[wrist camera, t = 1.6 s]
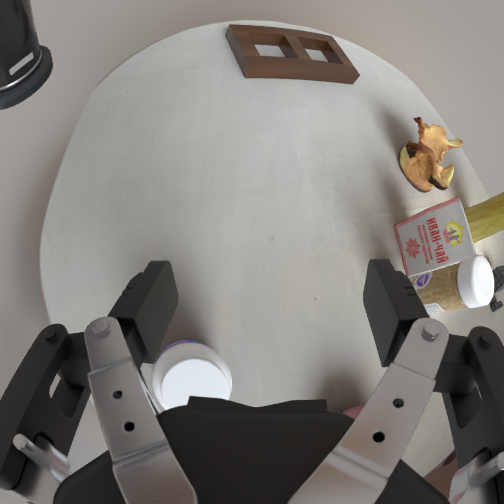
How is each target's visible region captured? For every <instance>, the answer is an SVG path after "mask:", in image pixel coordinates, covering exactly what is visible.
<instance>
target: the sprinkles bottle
mask: <svg viewBox="0 0 504 504" xmlns="http://www.w3.org/2000/svg"><path fill="white" fill-rule="evenodd" d="M408 278H409V279H410V281H411V283H412V285H413V286H414V288H415V290H416V292H417V295H418V296H419V297H420V299H421V301H422V303H423V305H424V307H425V309H426V311H427V313H428V314H432V313H439V312H445V311H450V310H454V309H459V308H465V307H467V308H476V307H481V306H485V305H487V304H488V303H489V302H490V301H491V299H492V297H493V293H494V277H493V272H492V269H491V266H490V264H489V263H488V261H487V260H486V258H485V257H483V256H481V255H475V256H472V257H469V258H466V259H464V260H463V261H461V262H460V263H457V264H454V265H450V266H447V267H444V268H441V269H438V270H434V271H430V272H425V273H421V274H418V275H414V276H411V277H408Z"/></svg>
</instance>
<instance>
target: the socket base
mask: <svg viewBox="0 0 504 504" xmlns="http://www.w3.org/2000/svg"><path fill="white" fill-rule="evenodd" d="M226 38H227V40H228V42H229V44H230V46H231V48H232V50H233V53H234V55H235V57H236V59H237V61H238V63H239V66H240V68H241V70H242V72H243V75H244V77H245V78H281V79H302V80H316V81H327V82H336V83H345V84H353V83H354V82H355V81H356V80H357V78H358V77H359V76H360V74H359V73H358V71H357V70H356V69H355V67H354V66H353V64H352V63H351V61H350V60H349V59H348V57H347V56H346V54H345V53H344V52H343V50H342V49H341V48H340V46H339V45H338V44H337V42H336V41H335V40H334V38H333V37H332V36H329V35H324V34H318V33H312V32H306V31H300V30H293V29H285V28H276V27H265V26H252V25H231V24H229V27H228V30H227V33H226ZM254 44H260V45H275V46H279V47H280V48H281V50H282V52H283V53H284V55H285V57H270V56H260V55H259V53H258V51H257V49H256V47H255V46H254ZM304 48H305V49H312V50H319V51H322V52H323V54H324V55H325V57H326V58H327V60H328V61H329V62H324V61H316V60H312V59H311V58H310V56H309V55H308V53H307V52H306V50H305V49H304Z"/></svg>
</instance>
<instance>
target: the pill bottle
mask: <svg viewBox="0 0 504 504" xmlns="http://www.w3.org/2000/svg"><path fill="white" fill-rule="evenodd" d="M152 386H153V391H154V394H155V396H156V398H157V400H158V401H159V403H160V404H161V405H162V406H163V407H164V408H165V409H166V410H168V409H170V408H174V407H177V406H182V405H187V403H188V399H189V395H190V396H200V397H211V398H222V399H226V400H228V399H229V396H230V394H231V389H232V377H231V372H230V369H229V367H228V365H227V363H226V362H225V360H224V359H223V358H222V357H221V356H220V355H219V354H218V353H217V352H216V351H215V350H213V349H212V348H210V347H208V346H206V345H204V344H202V343H200V342H197V341H194V340H178V341H175V342H172V343H170V344H169V345H167V346H166V347H165V348H164V349H163V350H162V351H161V353H160V354H159V356H158V358H157V361H156V364H155V366H154V370H153V374H152Z"/></svg>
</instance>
